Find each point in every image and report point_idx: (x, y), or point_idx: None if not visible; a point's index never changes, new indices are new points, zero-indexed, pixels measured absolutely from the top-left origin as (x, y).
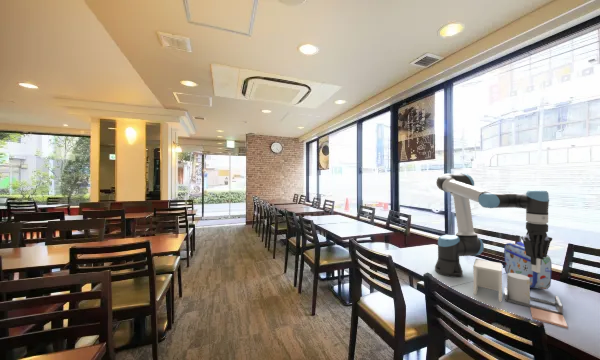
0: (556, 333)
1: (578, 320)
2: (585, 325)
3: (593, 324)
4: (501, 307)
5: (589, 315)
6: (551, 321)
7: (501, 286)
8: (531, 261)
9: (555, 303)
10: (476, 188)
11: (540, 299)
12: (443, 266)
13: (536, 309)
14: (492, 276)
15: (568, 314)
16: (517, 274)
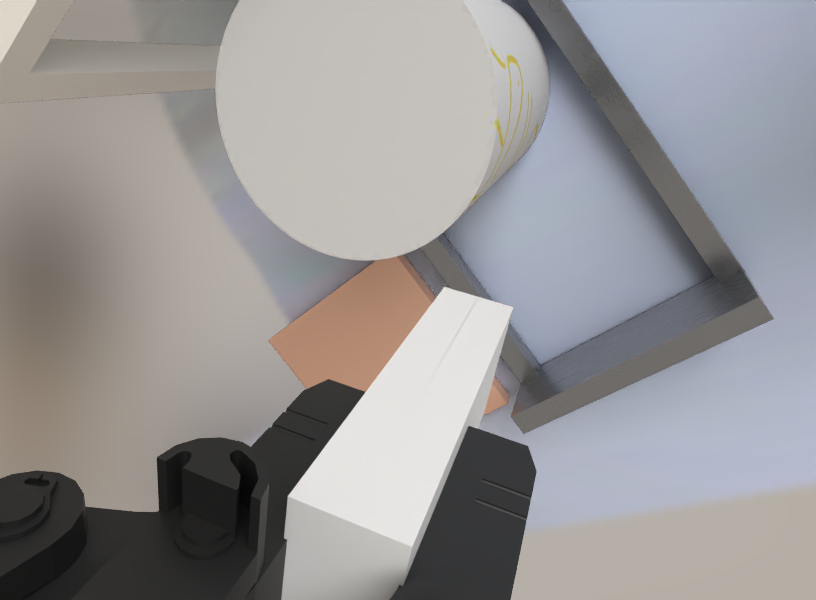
0: None
1: (575, 455)
2: (537, 494)
3: (615, 513)
4: (194, 165)
5: (793, 462)
6: None
7: (168, 88)
8: (274, 439)
9: (707, 289)
10: None
11: (660, 182)
12: None
13: (401, 288)
14: None
15: (618, 392)
16: (412, 42)
